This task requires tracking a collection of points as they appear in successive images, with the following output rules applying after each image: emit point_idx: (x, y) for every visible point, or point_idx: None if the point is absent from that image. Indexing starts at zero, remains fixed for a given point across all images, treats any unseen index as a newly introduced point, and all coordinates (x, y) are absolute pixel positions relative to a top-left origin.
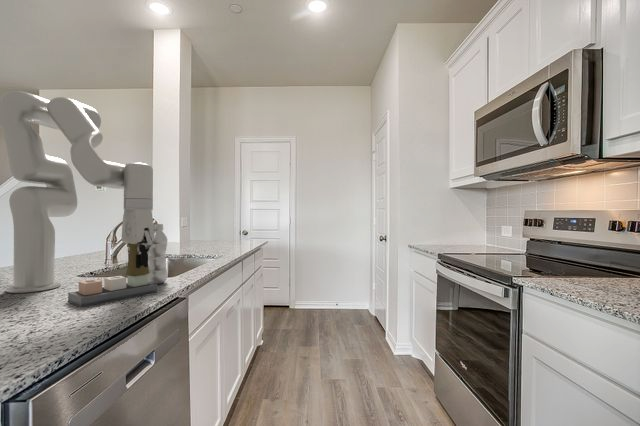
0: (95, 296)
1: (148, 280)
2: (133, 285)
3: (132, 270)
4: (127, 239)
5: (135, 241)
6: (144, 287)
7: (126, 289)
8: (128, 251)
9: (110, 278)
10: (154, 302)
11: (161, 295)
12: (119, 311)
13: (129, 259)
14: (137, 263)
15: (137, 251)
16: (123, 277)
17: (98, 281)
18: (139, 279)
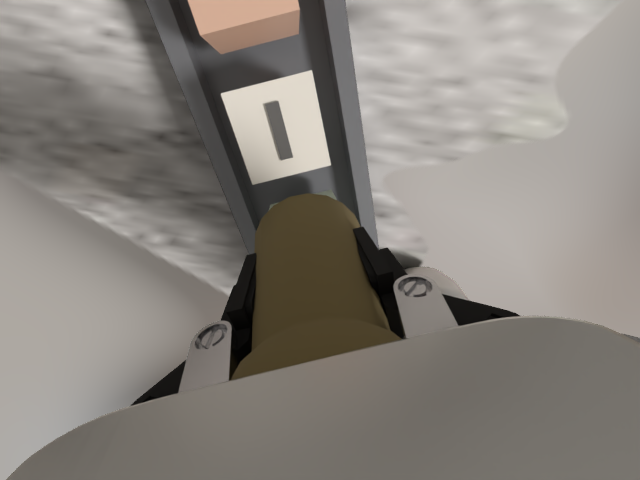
0: (151, 7)
1: (407, 273)
2: (272, 205)
3: (264, 227)
4: (331, 413)
5: (22, 467)
6: (243, 237)
7: (228, 169)
8: (425, 284)
9: (269, 101)
10: (122, 232)
11: (220, 268)
12: (17, 100)
13: (297, 246)
14: (243, 272)
15: (225, 339)
16: (263, 172)
17: (194, 7)
18: None
